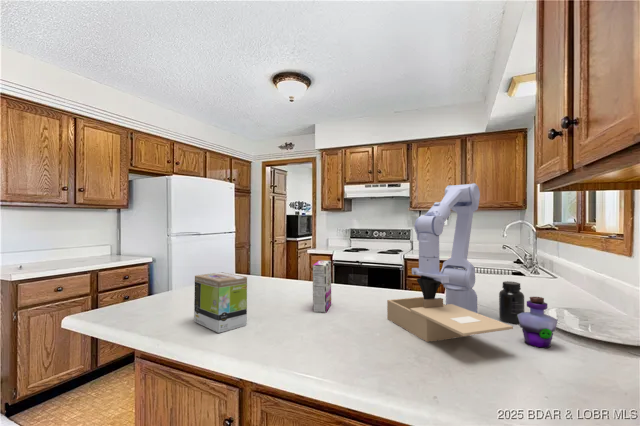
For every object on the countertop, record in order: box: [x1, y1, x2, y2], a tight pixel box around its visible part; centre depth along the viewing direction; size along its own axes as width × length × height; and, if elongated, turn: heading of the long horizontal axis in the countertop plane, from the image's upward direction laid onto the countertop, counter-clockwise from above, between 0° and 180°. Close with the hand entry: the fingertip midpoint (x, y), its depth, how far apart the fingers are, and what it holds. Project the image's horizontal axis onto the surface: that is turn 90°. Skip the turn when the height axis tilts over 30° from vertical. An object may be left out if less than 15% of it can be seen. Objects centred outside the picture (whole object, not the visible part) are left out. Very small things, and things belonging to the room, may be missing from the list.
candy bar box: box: [311, 260, 332, 314], centre depth 114 cm, size 11×5×16 cm, turn 168°
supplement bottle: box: [498, 280, 525, 325], centre depth 99 cm, size 7×7×12 cm
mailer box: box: [386, 296, 471, 343], centre depth 94 cm, size 14×20×6 cm
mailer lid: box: [410, 297, 514, 337], centre depth 82 cm, size 14×20×3 cm
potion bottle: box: [517, 296, 559, 350], centre depth 81 cm, size 9×9×12 cm
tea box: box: [193, 271, 248, 334], centre depth 97 cm, size 15×10×15 cm, turn 47°
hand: (429, 303), depth 92 cm, fingers closed
